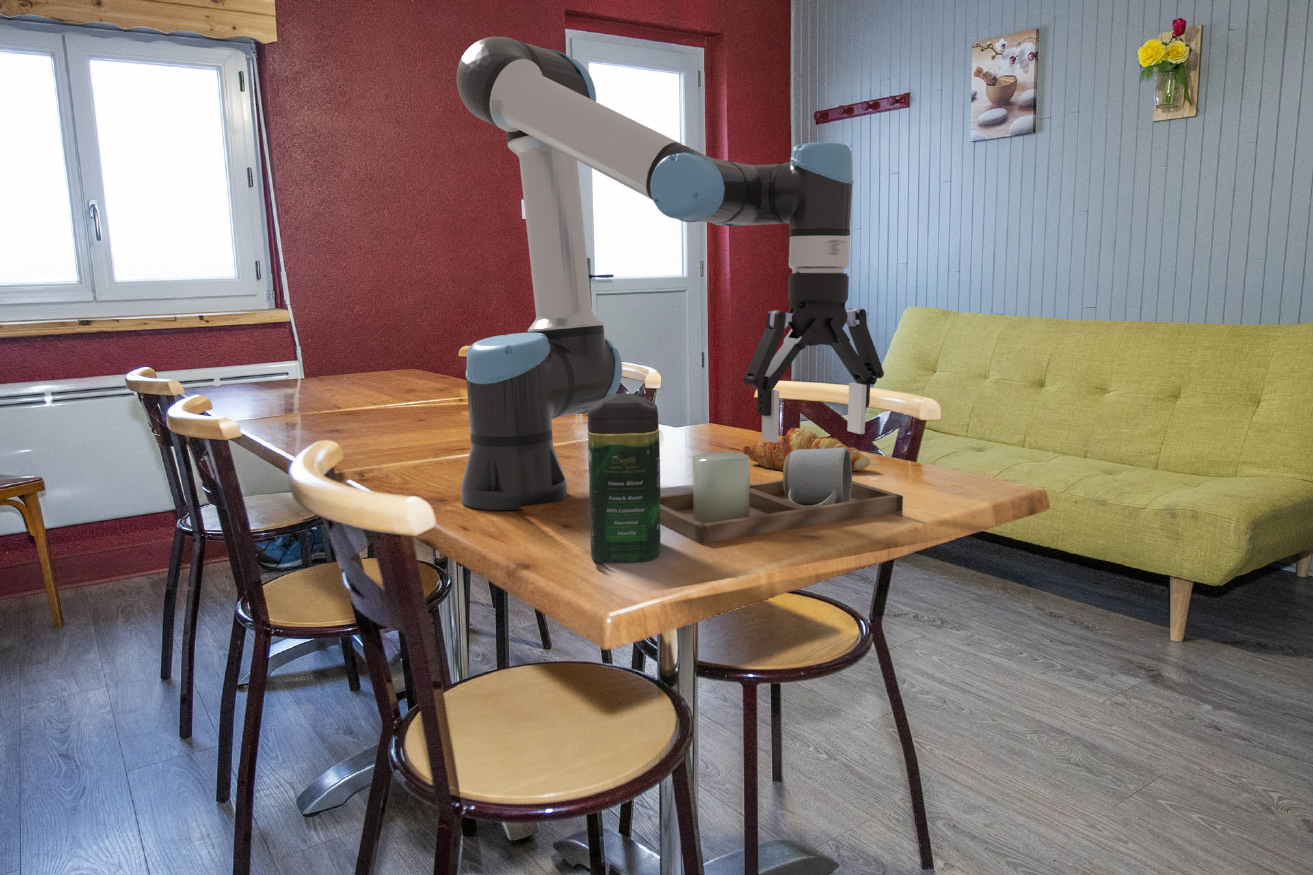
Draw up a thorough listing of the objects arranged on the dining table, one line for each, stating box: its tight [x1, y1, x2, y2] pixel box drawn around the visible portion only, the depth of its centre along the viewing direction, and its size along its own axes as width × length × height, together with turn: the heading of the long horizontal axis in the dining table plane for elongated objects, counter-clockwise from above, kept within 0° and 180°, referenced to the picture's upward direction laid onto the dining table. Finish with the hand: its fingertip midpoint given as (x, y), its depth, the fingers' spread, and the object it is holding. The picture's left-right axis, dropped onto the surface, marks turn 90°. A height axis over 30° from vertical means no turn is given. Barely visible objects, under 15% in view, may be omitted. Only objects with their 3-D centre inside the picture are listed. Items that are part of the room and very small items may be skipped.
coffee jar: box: [586, 393, 662, 567], centre depth 103 cm, size 10×8×19 cm
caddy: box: [660, 479, 904, 545], centre depth 120 cm, size 30×16×3 cm, turn 116°
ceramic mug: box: [782, 448, 853, 508], centre depth 121 cm, size 11×8×8 cm
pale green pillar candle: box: [692, 451, 751, 524], centre depth 116 cm, size 7×7×8 cm
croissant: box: [742, 427, 871, 472], centre depth 152 cm, size 21×10×8 cm, turn 66°
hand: (813, 436), depth 122 cm, fingers open, 13 cm apart
